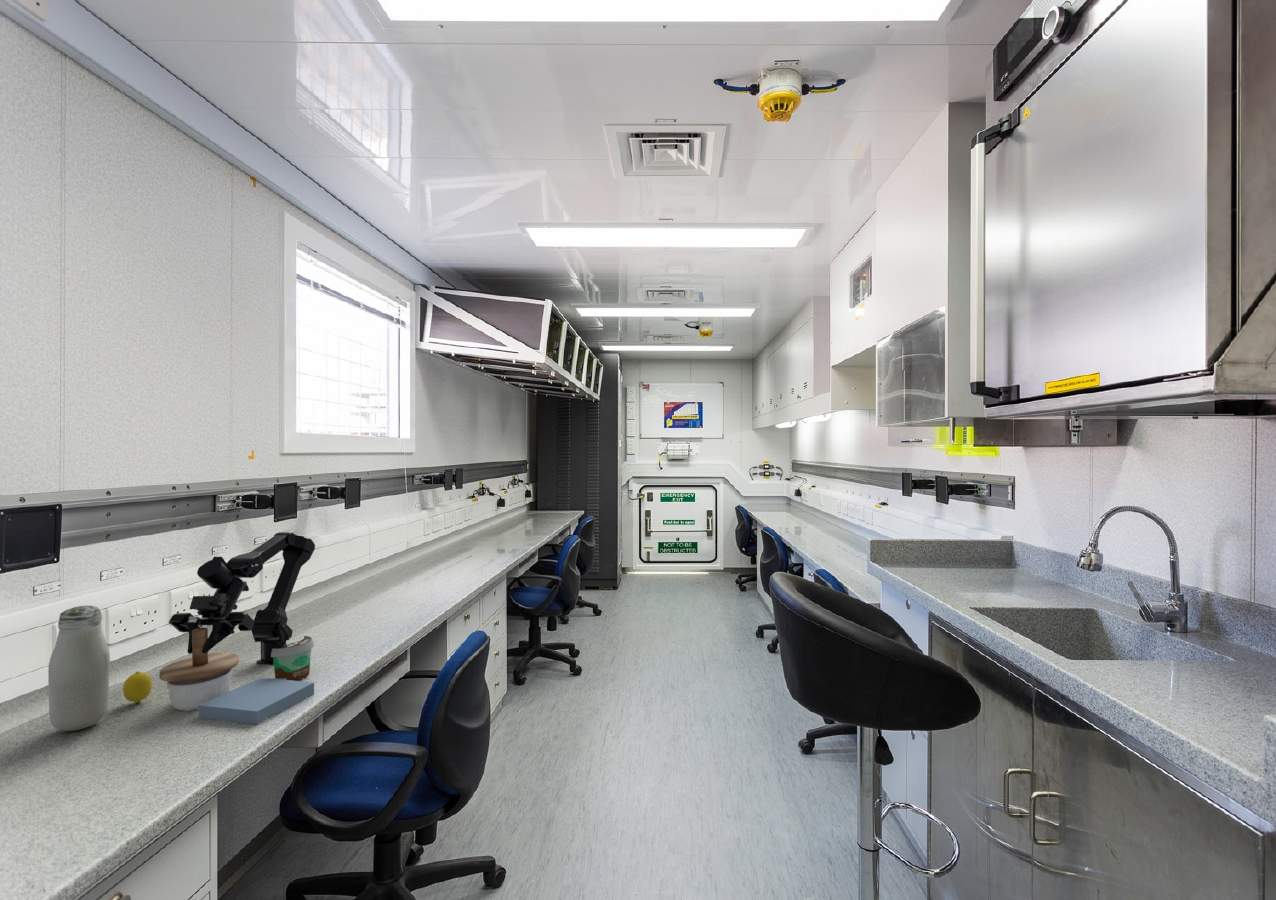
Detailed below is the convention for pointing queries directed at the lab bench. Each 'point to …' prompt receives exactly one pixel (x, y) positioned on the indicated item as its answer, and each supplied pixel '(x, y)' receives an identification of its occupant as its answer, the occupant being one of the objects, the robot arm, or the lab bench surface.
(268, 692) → the mat
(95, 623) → the glass bottle
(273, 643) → the robot arm
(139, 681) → the lemon
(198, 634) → the lid
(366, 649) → the lab bench surface
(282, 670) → the food container
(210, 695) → the ramekin
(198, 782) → the lab bench surface
